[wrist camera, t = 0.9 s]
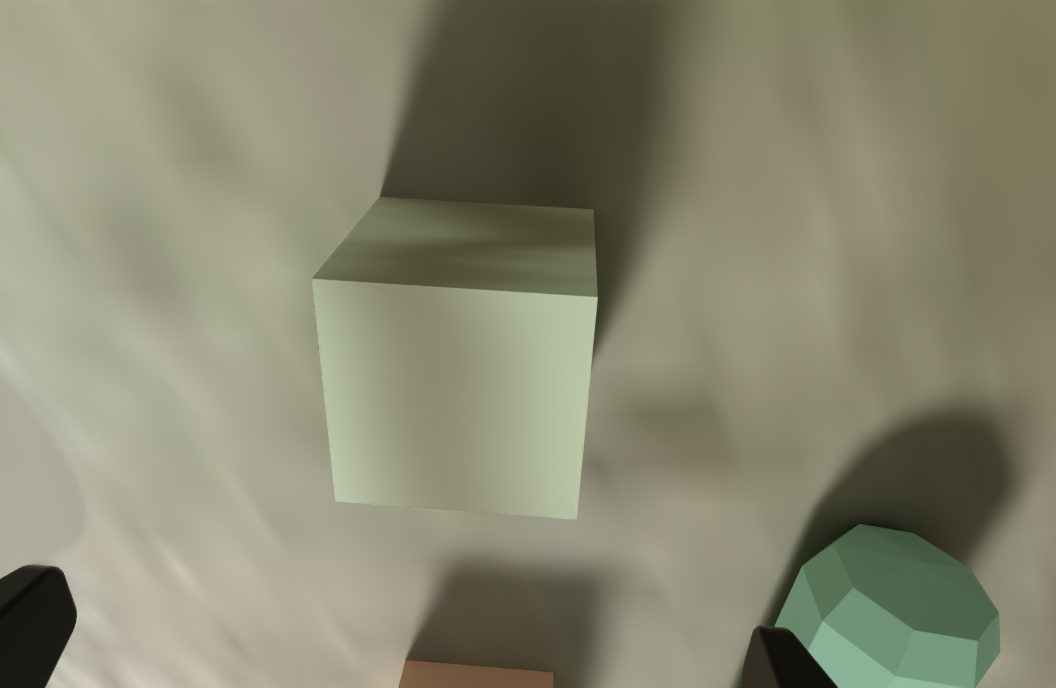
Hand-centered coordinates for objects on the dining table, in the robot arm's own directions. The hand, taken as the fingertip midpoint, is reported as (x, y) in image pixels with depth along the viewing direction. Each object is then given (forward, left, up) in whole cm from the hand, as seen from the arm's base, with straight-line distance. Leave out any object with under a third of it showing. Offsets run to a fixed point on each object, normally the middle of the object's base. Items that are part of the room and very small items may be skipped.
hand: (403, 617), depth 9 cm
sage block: (0, 0, -10) cm, 10 cm away
